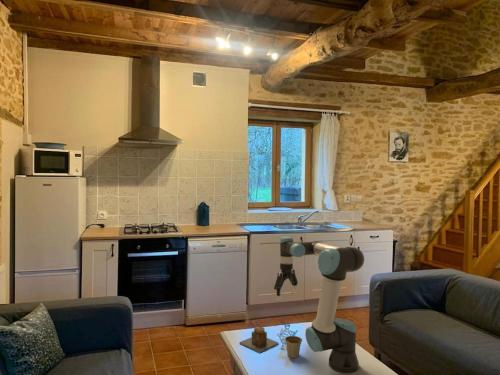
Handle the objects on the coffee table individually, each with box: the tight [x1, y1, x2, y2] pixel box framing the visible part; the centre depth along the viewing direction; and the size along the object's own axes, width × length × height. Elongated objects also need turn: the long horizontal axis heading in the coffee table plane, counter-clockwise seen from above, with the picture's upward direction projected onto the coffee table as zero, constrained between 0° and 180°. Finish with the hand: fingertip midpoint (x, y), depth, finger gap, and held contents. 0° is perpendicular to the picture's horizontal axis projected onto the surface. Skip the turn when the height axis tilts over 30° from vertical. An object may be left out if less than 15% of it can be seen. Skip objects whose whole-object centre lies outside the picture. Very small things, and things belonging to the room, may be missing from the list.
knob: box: [251, 326, 268, 346], centre depth 213 cm, size 6×6×8 cm
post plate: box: [239, 336, 280, 354], centre depth 213 cm, size 16×16×6 cm
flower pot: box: [284, 335, 303, 358], centre depth 200 cm, size 9×9×9 cm
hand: (286, 298), depth 219 cm, fingers open, 13 cm apart
